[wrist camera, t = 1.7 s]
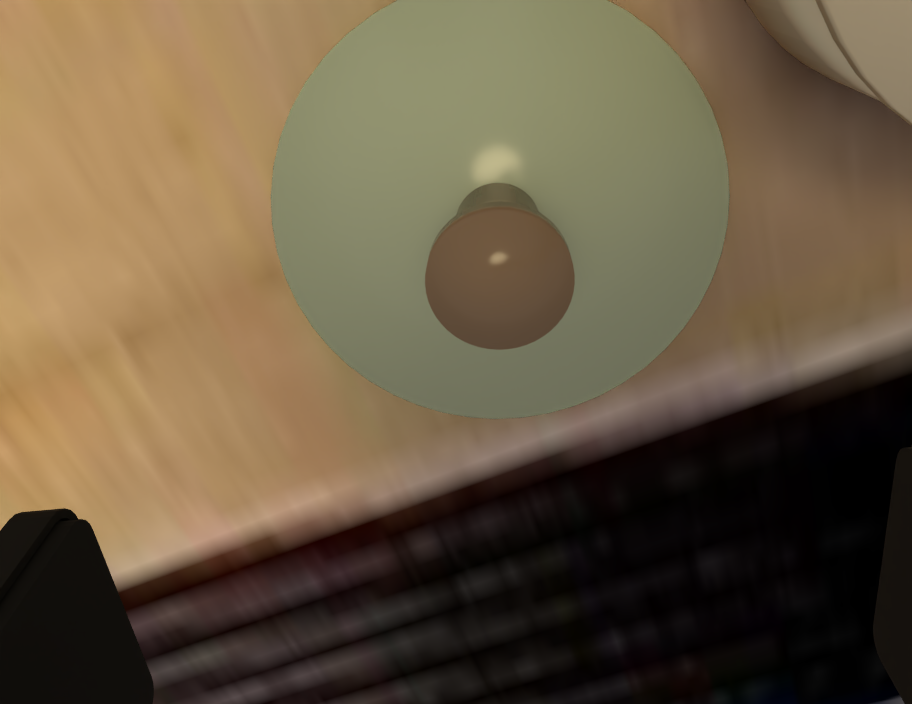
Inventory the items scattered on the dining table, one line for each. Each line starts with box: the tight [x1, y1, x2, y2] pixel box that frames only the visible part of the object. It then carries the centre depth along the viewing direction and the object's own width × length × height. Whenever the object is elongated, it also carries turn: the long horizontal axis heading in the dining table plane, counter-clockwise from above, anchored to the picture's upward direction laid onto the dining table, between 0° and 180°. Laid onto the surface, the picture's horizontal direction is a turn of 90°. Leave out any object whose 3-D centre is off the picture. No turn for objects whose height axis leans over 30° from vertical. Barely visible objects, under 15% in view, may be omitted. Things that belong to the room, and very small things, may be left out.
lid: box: [271, 0, 730, 419], centre depth 27 cm, size 16×16×6 cm
